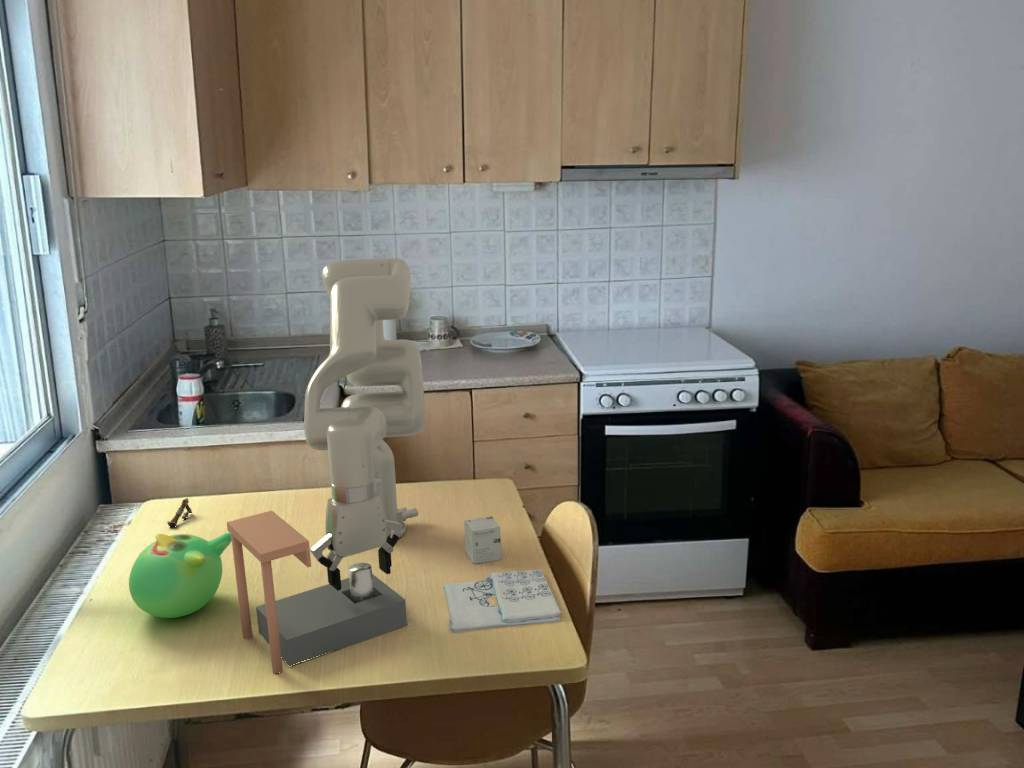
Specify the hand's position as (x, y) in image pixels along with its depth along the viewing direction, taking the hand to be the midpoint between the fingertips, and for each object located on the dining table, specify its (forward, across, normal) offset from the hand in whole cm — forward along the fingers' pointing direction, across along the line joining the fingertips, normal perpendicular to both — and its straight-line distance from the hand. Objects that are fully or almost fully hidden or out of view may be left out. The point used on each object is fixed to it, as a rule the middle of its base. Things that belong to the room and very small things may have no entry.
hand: (360, 579), depth 169 cm
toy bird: (+8, +25, -24) cm, 35 cm away
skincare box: (+8, -31, -8) cm, 33 cm away
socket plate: (+7, +6, 0) cm, 10 cm away
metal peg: (+8, 0, 0) cm, 8 cm away
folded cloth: (+8, -22, +10) cm, 26 cm away
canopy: (+7, +16, 0) cm, 18 cm away
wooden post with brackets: (+9, +14, -66) cm, 68 cm away
